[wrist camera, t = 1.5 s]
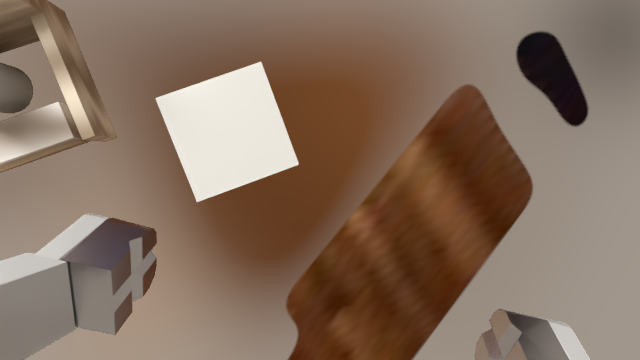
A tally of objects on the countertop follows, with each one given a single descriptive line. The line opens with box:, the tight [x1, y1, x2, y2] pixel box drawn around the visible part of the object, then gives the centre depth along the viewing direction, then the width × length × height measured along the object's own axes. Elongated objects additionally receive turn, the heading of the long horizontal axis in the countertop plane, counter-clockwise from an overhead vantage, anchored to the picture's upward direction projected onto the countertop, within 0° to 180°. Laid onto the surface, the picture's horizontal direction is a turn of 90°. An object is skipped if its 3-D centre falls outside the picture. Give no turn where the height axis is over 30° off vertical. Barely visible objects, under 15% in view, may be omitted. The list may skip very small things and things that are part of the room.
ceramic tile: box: [155, 62, 299, 202], centre depth 42 cm, size 12×12×1 cm
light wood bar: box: [0, 102, 90, 173], centre depth 38 cm, size 4×12×4 cm, turn 110°
